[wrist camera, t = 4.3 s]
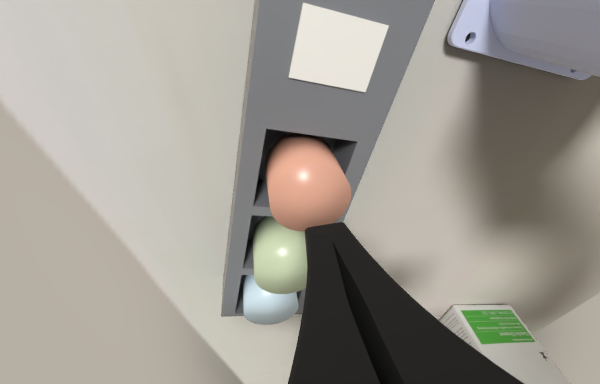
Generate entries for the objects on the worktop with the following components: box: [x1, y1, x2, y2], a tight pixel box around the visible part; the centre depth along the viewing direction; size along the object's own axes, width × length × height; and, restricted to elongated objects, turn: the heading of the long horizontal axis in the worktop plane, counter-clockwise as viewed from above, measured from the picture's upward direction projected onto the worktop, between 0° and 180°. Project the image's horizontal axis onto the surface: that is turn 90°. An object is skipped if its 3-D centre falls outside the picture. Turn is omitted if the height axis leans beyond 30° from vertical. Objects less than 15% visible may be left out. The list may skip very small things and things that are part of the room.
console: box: [221, 0, 435, 317], centre depth 16 cm, size 6×20×3 cm, turn 167°
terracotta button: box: [265, 133, 351, 231], centre depth 13 cm, size 4×4×3 cm
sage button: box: [252, 216, 307, 294], centre depth 16 cm, size 4×4×3 cm
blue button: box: [243, 275, 299, 325], centre depth 19 cm, size 4×4×3 cm
